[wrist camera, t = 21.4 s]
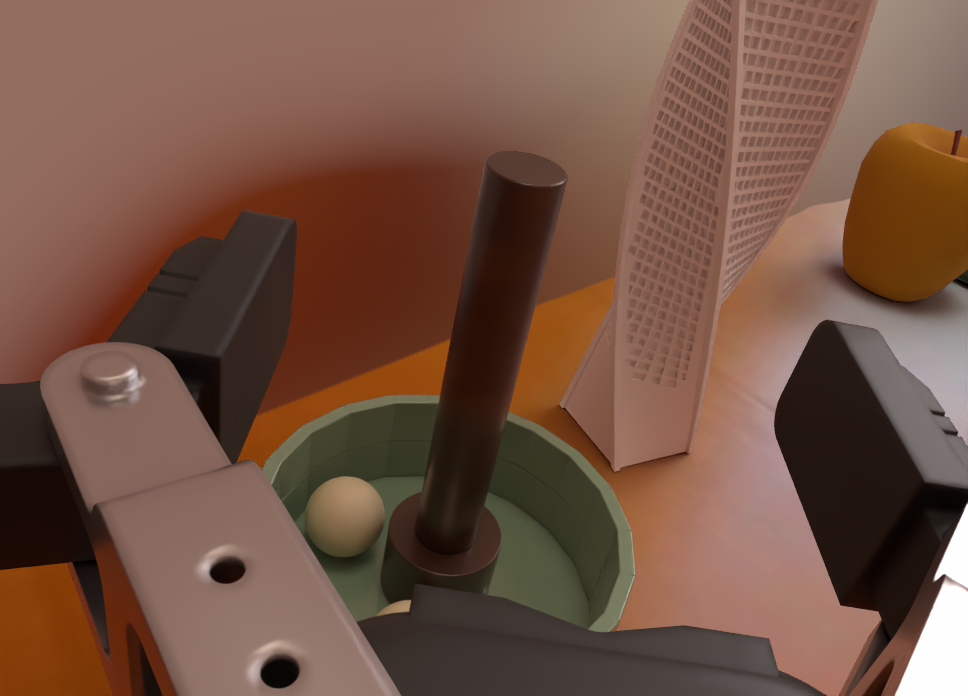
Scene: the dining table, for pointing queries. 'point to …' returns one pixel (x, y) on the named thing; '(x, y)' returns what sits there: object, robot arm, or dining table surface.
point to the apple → (909, 213)
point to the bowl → (511, 499)
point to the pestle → (477, 383)
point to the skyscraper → (709, 204)
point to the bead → (344, 516)
